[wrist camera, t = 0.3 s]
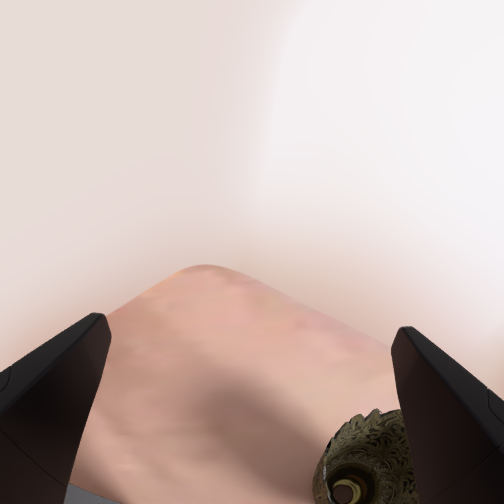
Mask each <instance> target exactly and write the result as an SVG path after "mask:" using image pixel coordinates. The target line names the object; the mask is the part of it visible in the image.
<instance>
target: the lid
mask: <svg viewBox="0 0 504 504" xmlns="http://www.w3.org/2000/svg"><path fill="white" fill-rule="evenodd" d="M64 504H120V503H117V502H115V501H112V500H109V499H106V498H104V497H101V496H98V495H96V494H93V493H91V492H88V491H86V490H84V489H81V488H79V487H77V486H74V485H72V484H70V483H68V487H67V492H66V496H65V500H64Z"/></svg>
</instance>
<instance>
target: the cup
mask: <svg viewBox="0 0 504 504" xmlns="http://www.w3.org/2000/svg"><path fill="white" fill-rule="evenodd" d="M379 412H381V411H379V409H374V410H373V411H372V412H371V413H370V414H369V415H368V416H367V417H366V418H365V419H364V416H363V415H362V414H358V415H356V416H354V417H353V418H351V419H350V421H349V422H345V423H344V424H343V426H342V427H341V428H340V429H339V430H338V431H337V432H336V434H335V436H334V437H332V438H331V440H330V441H329V443H328V445H327V448H326V450H325V452H324V454H323V456H322V458H321V459H320V461H319V463H318V466H317V468H316V471H315V474H314V477H313V483H312V491H313V497H314V501H315V503H316V504H340V503H339V502H337V501H336V499H335V498H334V496H333V490H334V489H335V488H336V487H338V486H341V485H345V486H348V487H350V488H351V490H352V492H353V497H352V499H351V500H350V501H349V502H348V503H345V504H419V502H418V495H417V488H416V482H415V476H414V470H413V464H412V459H411V454H410V449H409V444H408V439H407V434H406V429H405V425H404V420H403V416H402V412H401V410H400V409H397V410H393V411H389V412H387V413H384V414H381V415H380V413H379ZM381 413H382V412H381Z"/></svg>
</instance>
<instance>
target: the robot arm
mask: <svg viewBox="0 0 504 504" xmlns="http://www.w3.org/2000/svg"><path fill="white" fill-rule="evenodd" d="M110 343H111V331H110V328H109V325H108V322H107V319H106V316H105V315H104V314H102V313H91V314H89V315H87V316H86V317H84V318H83V319H81V320H80V321H78V322H77V323H75V324H74V325H72V326H70V327H69V328H67V329H65V330H64V331H62V332H61V333H59V334H58V335H56V336H55V337H53V338H52V339H50V340H49V341H47V342H45V343H44V344H42V345H41V346H39V347H38V348H36V349H35V350H33V351H32V352H30V353H29V354H27V355H26V356H24V357H23V358H21V359H20V360H18V361H17V362H15V363H14V364H12V366H9V367H8V368H6V369H5V370H3V371H2V372H0V504H64V500H65V496H66V492H67V487H68V483H69V479H70V476H71V472H72V468H73V465H74V461H75V458H76V454H77V451H78V447H79V444H80V441H81V437H82V434H83V431H84V428H85V425H86V422H87V419H88V416H89V413H90V410H91V407H92V404H93V401H94V398H95V395H96V392H97V390H98V387H99V384H100V381H101V377H102V374H103V370H104V366H105V362H106V358H107V354H108V350H109V347H110ZM391 356H392V362H393V368H394V375H395V382H396V389H397V395H398V399H399V403H400V408H401V412H402V416H403V420H404V425H405V429H406V434H407V439H408V444H409V449H410V454H411V459H412V464H413V470H414V476H415V482H416V488H417V495H418V502H419V504H504V401H503V400H502V399H501V398H500V397H498V396H497V395H496V394H495V393H494V392H493V391H491V390H490V389H487V387H486V386H485V385H484V384H483V383H482V382H480V381H479V380H478V379H477V378H476V377H474V376H473V375H472V374H471V373H470V372H468V371H467V370H466V369H465V368H464V367H462V366H461V365H460V364H459V363H457V362H456V361H455V360H454V359H453V358H451V357H450V356H449V355H448V354H446V353H445V352H444V351H443V350H441V349H440V348H439V347H438V346H436V345H435V344H434V343H433V342H431V341H430V340H429V339H428V338H426V337H425V336H424V335H423V334H421V333H420V332H419V331H417V330H416V329H415V328H414V327H411V326H406V327H401V328H399V330H398V332H397V334H396V337H395V339H394V341H393V344H392V347H391Z"/></svg>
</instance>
